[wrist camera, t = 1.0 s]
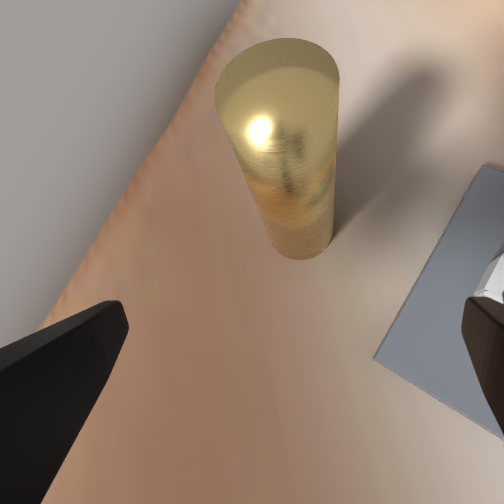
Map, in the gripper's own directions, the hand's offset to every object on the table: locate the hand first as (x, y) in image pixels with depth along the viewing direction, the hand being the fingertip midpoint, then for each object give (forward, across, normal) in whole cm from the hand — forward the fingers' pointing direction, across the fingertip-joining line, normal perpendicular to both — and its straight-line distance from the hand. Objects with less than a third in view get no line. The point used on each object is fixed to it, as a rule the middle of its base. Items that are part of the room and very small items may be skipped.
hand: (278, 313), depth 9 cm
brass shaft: (+15, 0, +4) cm, 16 cm away
